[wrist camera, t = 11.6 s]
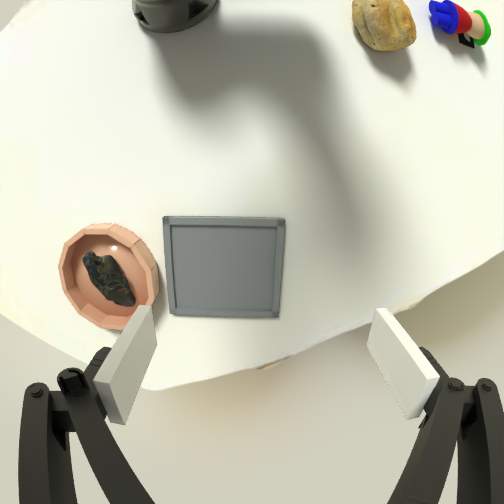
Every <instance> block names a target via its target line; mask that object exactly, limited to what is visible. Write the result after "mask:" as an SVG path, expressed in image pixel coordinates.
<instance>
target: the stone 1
mask: <svg viewBox="0 0 504 504" xmlns="http://www.w3.org/2000/svg"><path fill="white" fill-rule="evenodd" d="M82 261H83V264H84V266H85V268H86V270H87V272H88V275H89V278H90V280H91V282H92V284H93V285H94V286H95V287H96V288H97V289H98V290H99V291H100V292H101V294H102V295H103V296H104V297H105V298H106V299H107V300H108V301H113V302H114V303H115V304H117V305H120V306H125V307H131V306H132V307H133V306H134V305H135V303H136V298H135V297H134V295H133V294H132V292H131V291H130V286H129V283H128V280H127V278H126V277H124V276H123V275H122V273H121V270H120V268H119V266H118V264H117V262H116V261H115V259H114V258H113V257H112V256H111V255H104V256H96V254H95V253H94V252H93V251H89V252H88V253H86V254H85V256H83V258H82Z"/></svg>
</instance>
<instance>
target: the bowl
mask: <svg viewBox="0 0 504 504" xmlns="http://www.w3.org/2000/svg"><path fill="white" fill-rule="evenodd" d="M89 251H93V252H94V253H95V254H96V256H104V255H111V256H112V257H113V258H114V259H115V261H116V262H117V264H118V266H119V268H120V270H121V273H122V275H123V276H124V277H126V278H127V280H128V283H129V286H130V291H131V292H132V294H133V295H134V297H135V298H136V303H135V305H134V306H133V307H132V306H131V307H125V306H120V305H117V304H115V303H114V302H113V301H108V300H107V299H106V298H105V297H104V296H103V295H102V294H101V292H100V291H99V290H98V289H97V288H96V287H95V286H94V285H93V284H92V282H91V280H90V278H89V275H88V272H87V270H86V268H85V266H84V264H83V261H82V258H83V256H85V254H86V253H88V252H89ZM58 266H59V267H58V269H59V274H60V279H61V284H62V288H63V292H64V294H65V295H66V297H67V298H68V300H69V301H70V302H71V304H72V305H73V307H74V308H75V310H76V311H77V312H78V313H79V314H80V315H81V316H83V317H84V318H86V319H87V320H89V321H90V322H92V323H94V324H95V325H97V326H98V327H100V328H107V329H115V330H123V329H124V328H125V326H126V325H127V323H128V322H129V320H130V318H131V317H132V315H133V314H134V312H135V311H136V309H137V307H138V306H139V305H148V306H152V304H153V302H154V300H155V298H156V296H157V294H158V292H159V274H158V269H157V264H156V262H155V260H154V257H153V255H152V253H151V252H150V250H149V249H148V247H147V246H146V244H145V243H144V242H143V241H142V240H141V239H140V238H139V237H138V236H137V235H136V234H134V233H133V232H131V231H130V230H128V229H126V228H124V227H122V226H119V225H117V224H110V223H102V224H91V225H89V226H87V227H85V228H84V229H82V230H81V231H79V232H78V233H77V234H76V235H74V236H73V237H72V238H71V239H69V240H68V241H67V242H66V243H65V244H64V247H63V251H62V254H61V258H60V261H59V265H58Z"/></svg>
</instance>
